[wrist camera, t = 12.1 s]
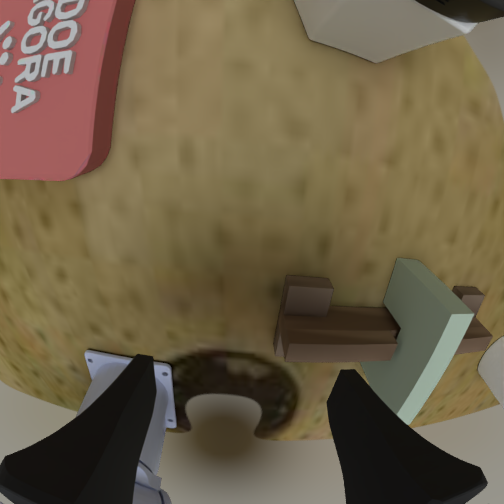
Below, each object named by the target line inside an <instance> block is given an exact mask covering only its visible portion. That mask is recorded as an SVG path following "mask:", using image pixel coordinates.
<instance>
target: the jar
mask: <svg viewBox="0 0 504 504" xmlns="http://www.w3.org/2000/svg"><path fill="white" fill-rule="evenodd" d="M294 2H295V5H296V7H297V10H298V12H299V15H300V17H301V20H302V22H303V25H304V27H305V30H306V33H307V35H308V38H309V39H310V40H312V41H316V42H319V43H322V44H325V45H328V46H331V47H334V48H337V49H340V50H343V51H346V52H348V53H351V54H354V55H356V56H359V57H362V58H364V59H367V60H369V61H372V62H374V63H380V62H383V61H385V60H388V59H391V58H393V57H396V56H399V55H402V54H404V53H407V52H410V51H413V50H416V49H419V48H422V47H425V46H428V45H431V44H434V43H438V42H441V41H444V40H448V39H451V38H455V37H458V36H462V35H466V34H468V33H469V32H470V31H471V30H472V29H473V28H474V27H475V26H476V25H477V24H478V23H479V22H484V21H488V20H491V19H496V18H500V17H504V0H294Z"/></svg>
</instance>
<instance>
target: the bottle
mask: <svg viewBox="0 0 504 504" xmlns="http://www.w3.org/2000/svg"><path fill="white" fill-rule="evenodd" d="M478 372H479V374H480V375H481V377H482V378H483V380H484V381H485V382H486V384H487V385H488V387H489V388H490V390H491V391H492V393H493V394H494V396H495V397H496V399H497V400H498V401H499V403H500V404H501V406H502V407H503V409H504V336H502V337H501V338H499V339H498V340H497V341H496V342H495V343H493V344H492V345H491V346H490V347H489V348H488V350H487V351H486V352H485V354H484V355H483V357H482V359H481V360H480V363H479V365H478Z"/></svg>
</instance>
